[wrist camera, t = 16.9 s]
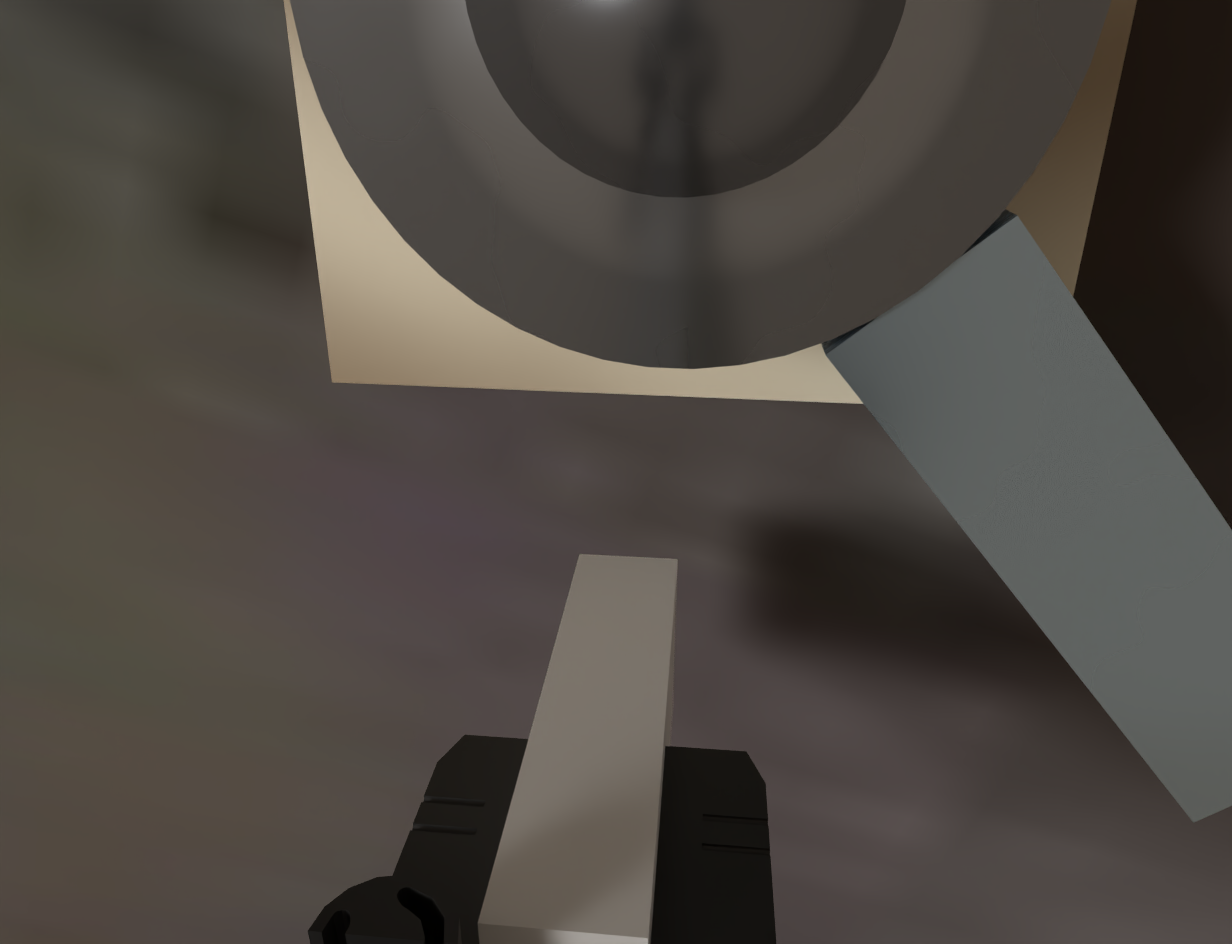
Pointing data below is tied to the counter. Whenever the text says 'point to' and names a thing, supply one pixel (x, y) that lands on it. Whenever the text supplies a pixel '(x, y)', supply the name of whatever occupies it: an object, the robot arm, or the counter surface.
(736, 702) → the counter surface
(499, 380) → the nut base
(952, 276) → the grey metal pan
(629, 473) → the counter surface
